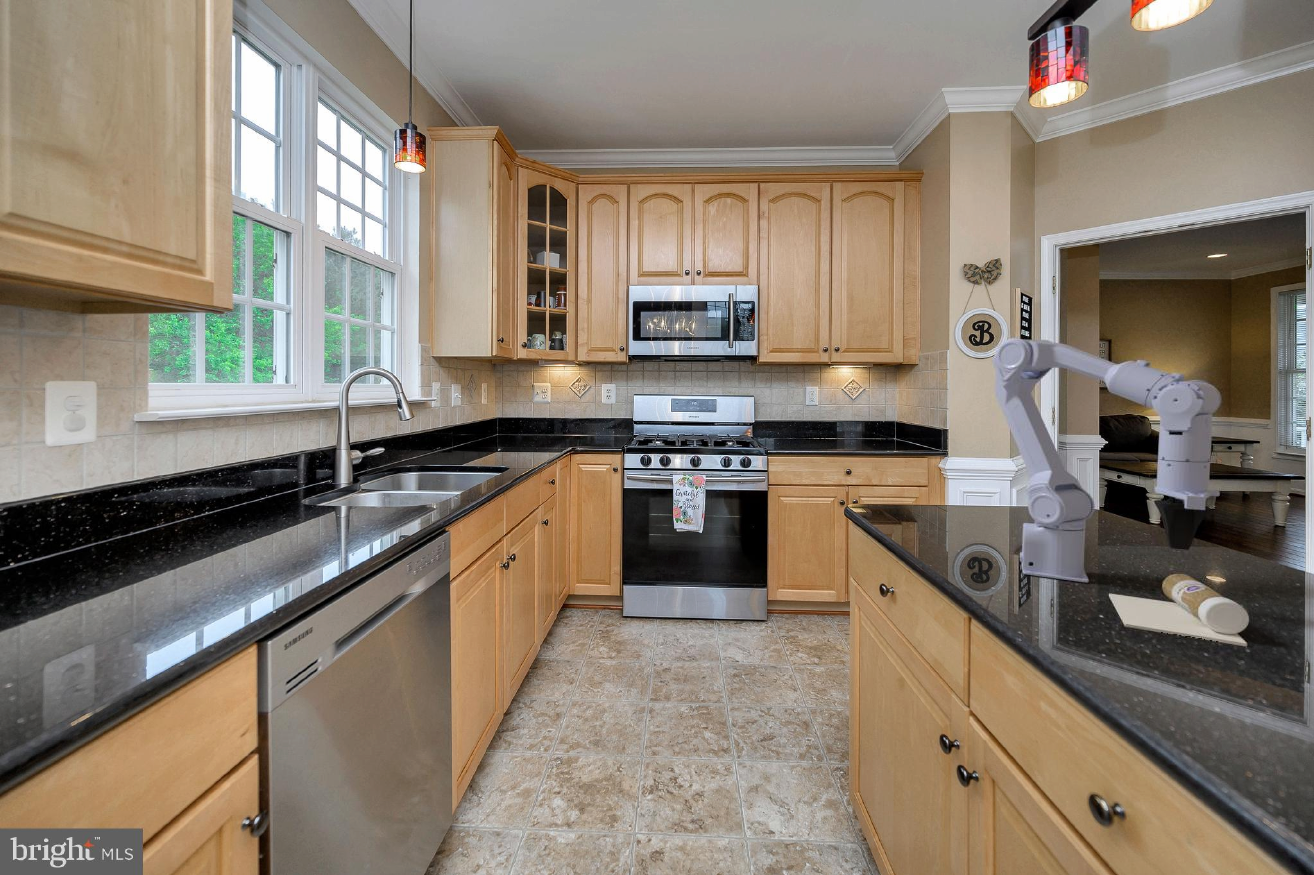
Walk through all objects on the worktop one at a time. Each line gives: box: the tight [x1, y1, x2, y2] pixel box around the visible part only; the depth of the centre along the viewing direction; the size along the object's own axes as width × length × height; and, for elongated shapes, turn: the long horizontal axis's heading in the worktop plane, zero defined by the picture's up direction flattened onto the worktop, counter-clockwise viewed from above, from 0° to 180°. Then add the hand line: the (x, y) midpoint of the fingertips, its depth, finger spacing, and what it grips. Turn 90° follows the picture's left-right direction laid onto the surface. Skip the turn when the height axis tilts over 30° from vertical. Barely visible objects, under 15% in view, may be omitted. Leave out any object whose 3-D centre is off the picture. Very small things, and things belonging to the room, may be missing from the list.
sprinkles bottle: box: [1161, 573, 1250, 634], centre depth 79 cm, size 5×5×13 cm
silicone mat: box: [1108, 593, 1248, 647], centre depth 79 cm, size 12×14×1 cm
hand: (1178, 548), depth 84 cm, fingers closed
